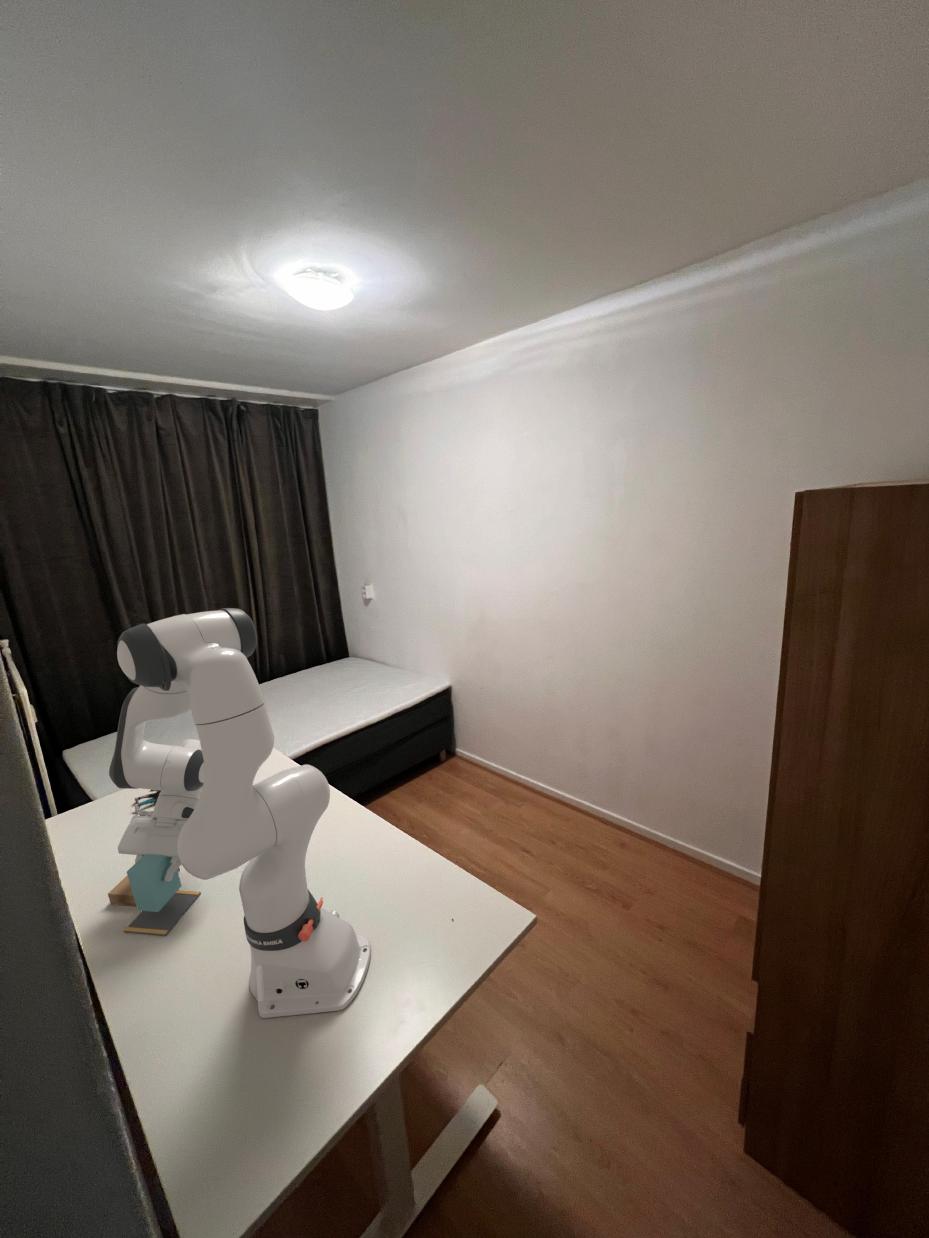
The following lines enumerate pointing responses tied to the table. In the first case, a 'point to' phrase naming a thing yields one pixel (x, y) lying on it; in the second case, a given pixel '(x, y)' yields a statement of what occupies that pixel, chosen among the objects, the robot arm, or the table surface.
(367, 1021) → the table surface
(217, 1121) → the table surface
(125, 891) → the block
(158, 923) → the mat
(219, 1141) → the table surface
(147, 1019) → the table surface
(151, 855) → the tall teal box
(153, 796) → the action figure
